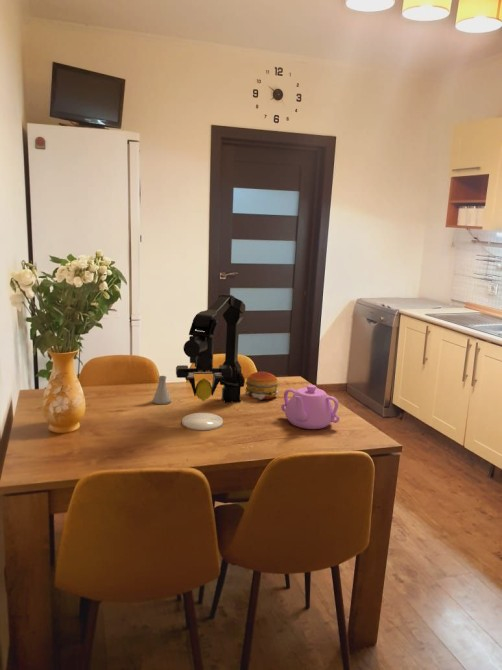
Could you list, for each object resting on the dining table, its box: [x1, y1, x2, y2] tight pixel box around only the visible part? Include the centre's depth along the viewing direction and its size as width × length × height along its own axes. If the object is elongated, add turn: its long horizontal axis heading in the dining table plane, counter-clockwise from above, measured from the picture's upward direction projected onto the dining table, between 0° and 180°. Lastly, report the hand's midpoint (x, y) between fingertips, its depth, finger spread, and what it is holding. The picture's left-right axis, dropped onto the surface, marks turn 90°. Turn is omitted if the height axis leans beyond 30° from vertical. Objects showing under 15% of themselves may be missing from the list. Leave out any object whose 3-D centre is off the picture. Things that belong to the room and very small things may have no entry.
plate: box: [181, 412, 224, 432], centre depth 182 cm, size 14×14×1 cm
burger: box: [245, 371, 279, 400], centre depth 212 cm, size 14×14×10 cm
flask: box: [152, 375, 172, 405], centre depth 200 cm, size 7×7×10 cm
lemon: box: [195, 378, 212, 402], centre depth 179 cm, size 6×6×8 cm
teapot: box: [280, 384, 341, 430], centre depth 183 cm, size 22×22×14 cm
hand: (203, 395), depth 180 cm, fingers closed on lemon, 5 cm apart
